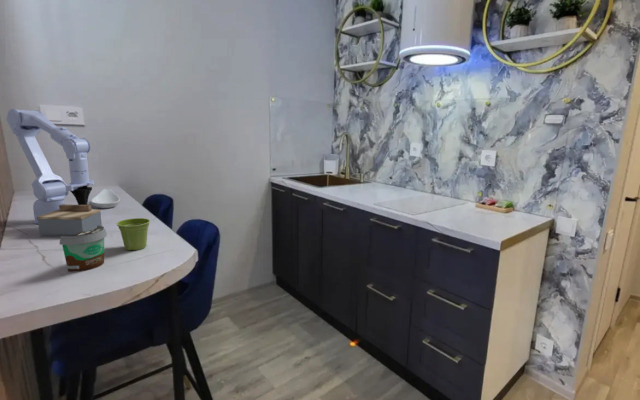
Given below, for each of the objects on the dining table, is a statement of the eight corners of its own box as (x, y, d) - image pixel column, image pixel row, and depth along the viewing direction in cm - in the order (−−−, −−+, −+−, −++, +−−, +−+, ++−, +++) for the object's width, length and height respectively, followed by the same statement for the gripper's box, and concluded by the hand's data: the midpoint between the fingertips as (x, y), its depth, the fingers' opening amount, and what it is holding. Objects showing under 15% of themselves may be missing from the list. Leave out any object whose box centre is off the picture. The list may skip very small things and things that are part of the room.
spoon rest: (120, 209, 158) (119, 194, 156) (90, 211, 152) (88, 195, 150) (121, 199, 178) (120, 186, 176) (94, 201, 172) (93, 187, 170)
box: (40, 236, 115) (37, 219, 114) (62, 226, 127) (61, 211, 126) (83, 236, 117) (81, 219, 116) (101, 226, 128) (100, 211, 127)
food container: (82, 276, 87) (78, 239, 85) (62, 273, 88) (58, 236, 86) (119, 259, 98) (116, 226, 97) (101, 256, 100) (98, 224, 98)
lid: (37, 219, 114) (36, 210, 114) (61, 210, 126) (60, 203, 125) (81, 219, 116) (80, 211, 115) (100, 211, 127) (99, 203, 127)
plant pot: (129, 255, 102) (126, 227, 100) (112, 248, 107) (110, 222, 105) (157, 246, 110) (156, 221, 108) (141, 241, 115) (139, 216, 113)
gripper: (79, 173, 118) (82, 210, 121) (101, 169, 133) (104, 202, 135) (57, 173, 118) (61, 210, 120) (82, 168, 132) (85, 202, 135)
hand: (82, 206), depth 128 cm, fingers closed
